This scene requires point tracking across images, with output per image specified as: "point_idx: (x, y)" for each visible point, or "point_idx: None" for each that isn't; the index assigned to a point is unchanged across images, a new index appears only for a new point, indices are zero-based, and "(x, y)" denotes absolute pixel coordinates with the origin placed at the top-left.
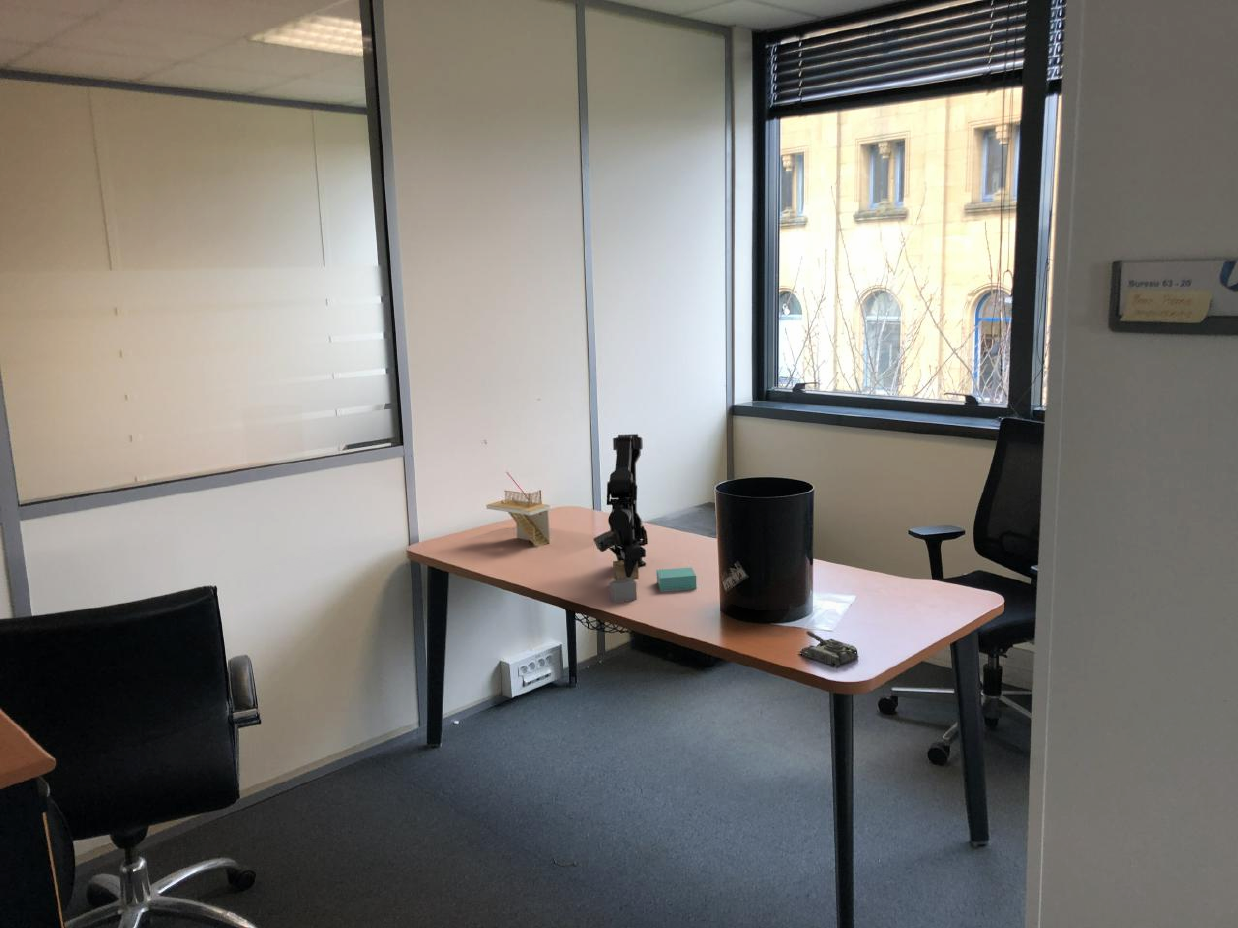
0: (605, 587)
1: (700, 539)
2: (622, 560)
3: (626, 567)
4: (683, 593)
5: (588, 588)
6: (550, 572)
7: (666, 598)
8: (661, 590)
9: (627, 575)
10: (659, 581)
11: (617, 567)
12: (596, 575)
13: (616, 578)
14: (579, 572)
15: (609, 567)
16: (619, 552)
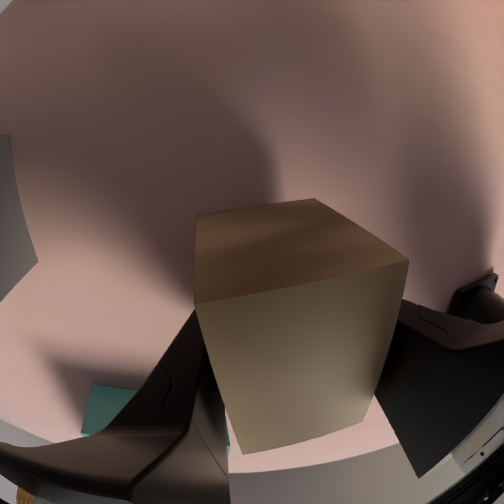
0: (233, 109)
1: None
2: (370, 362)
3: (161, 370)
4: (74, 421)
5: (259, 5)
6: (497, 23)
7: (19, 372)
8: (92, 388)
9: (195, 314)
10: (113, 417)
11: (204, 277)
12: (455, 141)
13: (251, 212)
14: (492, 97)
15: (489, 229)
16: (457, 394)
